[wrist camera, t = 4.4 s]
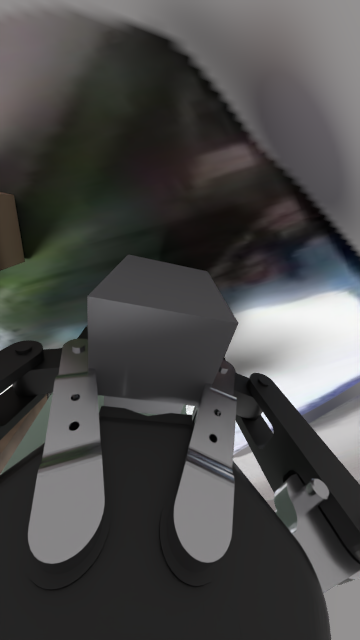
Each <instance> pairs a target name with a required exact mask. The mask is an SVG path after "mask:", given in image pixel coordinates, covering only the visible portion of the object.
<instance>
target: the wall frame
mask: <svg viewBox="0 0 360 640" xmlns="http://www.w3.org/2000/svg"><path fill="white" fill-rule="evenodd" d="M22 262H25V259H24V253H23V247H22V241H21V235H20V229H19V223H18V217H17V211H16V205H15V199H14V195H11V194H7V193H3V192H0V270H3V269H6V268H8V267H11V266H14V265H17V264H19V263H22ZM47 400H48V398H47V395H46V396H45V397H44V398H43V399H42V400H41V401H40V402H39V403H38V404H37V405H36V406H35V407H34V408H32V409H31V410H30V411H29V412H28V413H27V414H26V415H25V416H24V417H23V418H22V419H21V420H20V421H19V422H18V423H17V424H16V425H15V426H14V427H13V428H12V429H11V430H10V431H9V432H8V433H7V434H6V435H5V436H4V437H3V438H2V439H1V440H0V474H1V472H2V471H3V469H4V467H5V466H6V464H7V463H8V461H9V460H10V458H11V456H12V455H13V453H14V452H15V450H16V449H17V447H18V445H19V444H20V442H21V441H22V439H23V438H24V436H25V434H26V433H27V431H28V430H29V428H30V427H31V425H32V423H33V422H34V420H35V419H36V417H37V416H38V414H39V412H40V411H41V409H42V408H43V406H44V405H45V403H46V401H47Z"/></svg>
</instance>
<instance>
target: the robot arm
mask: <svg viewBox="0 0 360 640" xmlns="http://www.w3.org/2000/svg"><path fill="white" fill-rule="evenodd" d="M12 384H13V386H12V387H10V388H9V389H8V390H6V391H5V392H4V393H3V394H1V395H0V440H1V439H2V438H3V437H4V436H5V435H6V434H7V433H8V432H9V431H10V430H11V429H12V428H13V427H14V426H15V425H16V424H17V423H18V422H19V421H20V420H21V419H22V418H23V417H24V416H25V415H26V414H27V413H28V412H29V411H30V410H31V409H32V408H34V407H35V406H36V405H37V404H38V403H39V402H40V401H41V400H42V399H43V398H44V397H45V396H46V395H47V393H53V395H52V401H51V408H50V414H49V420H48V427H47V433H46V439H45V443H43V444H42V445H41V446H39V447H38V448H37V449H35V450H34V451H32V452H31V453H30V454H28V455H27V456H26V457H24V458H23V459H22V460H20V461H19V462H17V463H16V464H15V465H13V466H12V467H11V468H9V469H8V470H6V471H5V472H4V473H2V474H1V475H0V640H331V634H330V625H329V616H328V611H327V607H326V602H325V598H324V595H323V593H324V592H326V591H328V590H329V589H331V588H332V587H334V586H336V585H340V584H343V583H346V582H349V581H352V580H355V579H358V578H360V485H359V484H358V482H357V481H356V480H355V479H354V477H353V476H352V475H351V474H350V473H349V471H348V470H347V469H346V468H345V467H344V465H343V464H342V463H341V462H340V461H339V460H338V458H337V457H336V456H335V455H334V454H333V452H332V451H331V450H330V449H329V448H328V446H327V445H326V444H325V443H324V442H323V441H322V439H321V438H320V437H319V436H318V435H317V433H316V432H315V431H314V430H313V429H312V427H311V426H310V425H309V424H308V423H307V421H306V420H305V419H304V418H303V417H302V416H301V414H300V413H299V412H298V411H297V410H296V408H295V407H294V406H293V405H292V404H291V402H290V401H289V400H288V399H287V398H286V397H285V395H284V394H283V393H282V392H281V391H280V389H279V388H278V387H277V386H276V385H275V383H274V382H273V381H272V380H271V379H270V378H268V377H267V376H265V375H263V374H260V373H253V374H252V375H251V376H250V378H247V377H245V376H242V375H240V374H237V373H235V369H234V367H233V366H232V365H231V364H230V363H229V362H227V361H225V358H223V361H222V363H221V365H220V368H219V370H218V372H217V375H216V377H215V379H214V382H213V384H210V383H205V385H204V387H203V390H202V393H201V396H200V399H199V402H198V404H197V406H195V407H194V411H193V414H192V415H187V414H177V413H166V414H159V415H152V416H146V415H143V414H140V413H137V412H134V411H132V410H129V409H126V408H119V407H109V406H101V409H100V411H99V409H98V393H97V376H96V371H95V369H93V368H88V325H87V327H86V328H85V329H84V330H83V332H82V333H81V334H80V336H79V337H78V338H77V339H73V340H70V341H68V342H67V343H65V344H64V345H63V348H59V349H46V350H43V346H42V344H41V343H39V342H36V341H21V342H17V343H14V344H12V345H10V346H8V347H6V348H5V349H3V350H1V351H0V393H1V392H3V391H4V390H5V389H7V388H8V387H9V386H11V385H12ZM262 412H264V414H265V415H266V417H267V418H268V420H269V421H270V423H271V424H272V426H273V430H274V434H273V433H272V431H271V430H270V428H269V427H268V425H267V424H266V422H265V421H264V419H263V418H262V416H261V413H262ZM235 420H236V422H237V424H238V425H239V427H240V429H241V431H242V433H243V435H244V437H245V439H246V441H247V442H248V444H249V446H250V448H251V450H252V452H253V454H254V456H255V458H256V459H257V461H258V463H259V465H260V467H261V469H262V471H263V473H264V475H265V476H266V478H267V480H268V482H269V484H270V486H271V488H272V490H273V492H274V493H275V495H274V502H275V506H276V512H274V511H273V509H272V508H271V507H270V506H269V504H268V503H267V502H266V501H265V499H264V498H263V497H262V496H261V495H260V493H259V492H258V491H257V490H256V488H255V487H254V486H253V485H252V483H251V482H250V481H249V480H248V479H247V477H246V476H245V475H244V474H243V472H242V471H241V470H240V469H239V467H238V466H237V465H236V464H235V463H234V461H233V450H234V435H235Z"/></svg>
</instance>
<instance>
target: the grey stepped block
mask: <svg viewBox="0 0 360 640" xmlns="http://www.w3.org/2000/svg"><path fill="white" fill-rule="evenodd" d="M87 305H88V368H93V369H95V371H96V376H97V393H98V395H102V396H104V406H109V407H119V408H126V409H129V410H132V411H134V412H138V413H148V414H158V415H159V414H166V413H177V414H181V411H182V408H183V405H192V406H197V404H198V402H199V399H200V396H201V393H202V390H203V387H204V385H205V383H210V384H213V382H214V379H215V377H216V375H217V372H218V370H219V368H220V365H221V363H222V361H223V358H224V356H225V353H226V351H227V349H228V346H229V344H230V342H231V339H232V337H233V335H234V332H235V330H236V328H237V325H238V322H237V320H236V318H235V317H234V315H233V313H232V312H231V310H230V308H229V307H228V305H227V303H226V302H225V300H224V298H223V297H222V295H221V293H220V292H219V290H218V288H217V286H216V285H215V283H214V281H213V280H212V278H211V276H210V275H209V273H208V271H203V270H198V269H194V268H189V267H184V266H180V265H175V264H170V263H166V262H161V261H156V260H152V259H147V258H142V257H138V256H133V255H127V256H126V257H125V258H124V259H123V260H122V261H121V262H120V263H119V264H118V265H117V266H116V267H115V268H114V269H113V271H112V272H111V273H110V274H109V275H108V276H107V277H106V278H105V279H104V280H103V281H102V282H101V283H100V284H99V285H98V286H97V287H96V288H95V289H94V290H93V291H92V292H91V293H90V294H89V295H88V296H87Z"/></svg>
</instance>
